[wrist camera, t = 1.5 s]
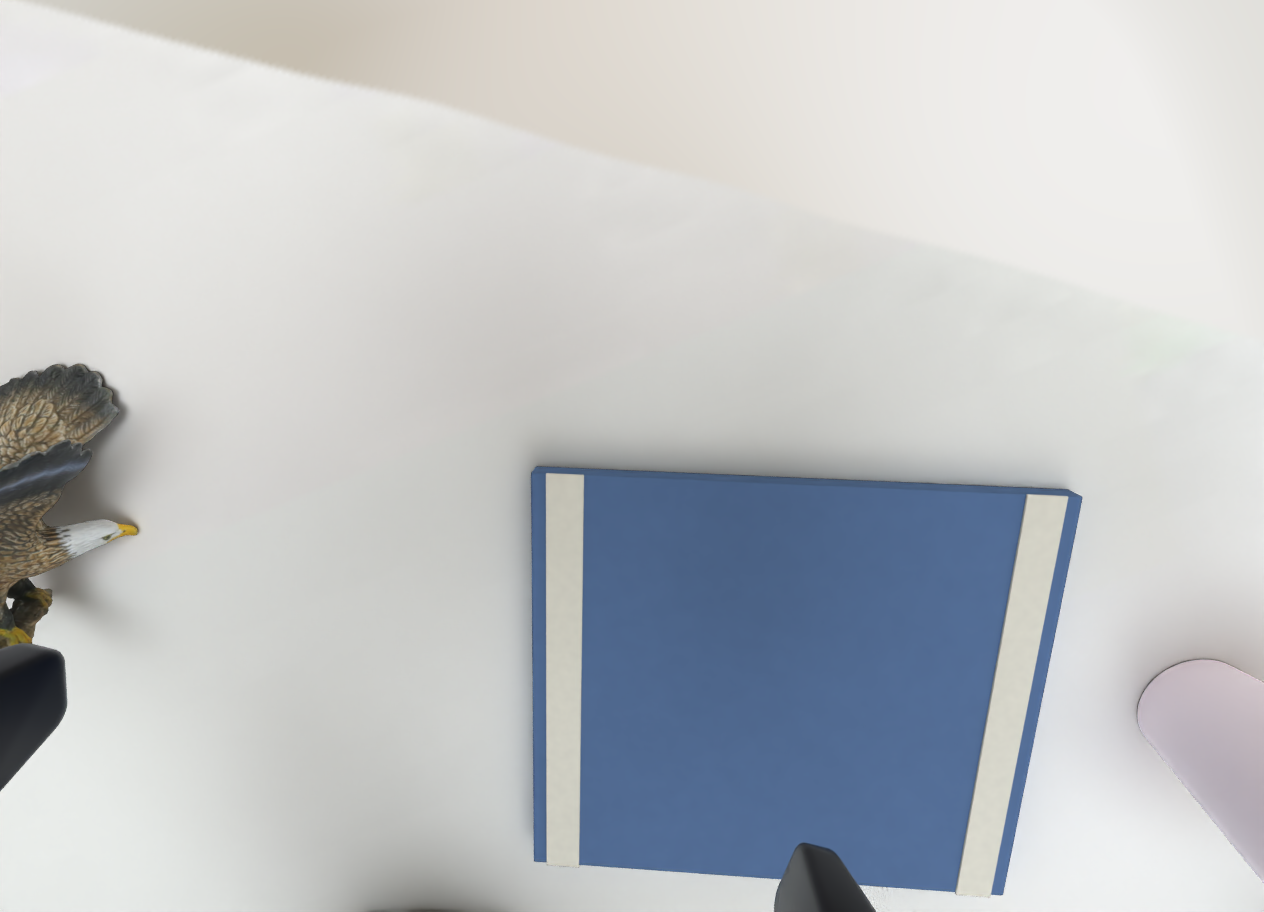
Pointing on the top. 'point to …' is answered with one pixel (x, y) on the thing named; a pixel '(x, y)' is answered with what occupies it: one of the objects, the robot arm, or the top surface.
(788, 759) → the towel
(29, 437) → the eagle figurine
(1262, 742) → the smoothie
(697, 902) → the top surface
